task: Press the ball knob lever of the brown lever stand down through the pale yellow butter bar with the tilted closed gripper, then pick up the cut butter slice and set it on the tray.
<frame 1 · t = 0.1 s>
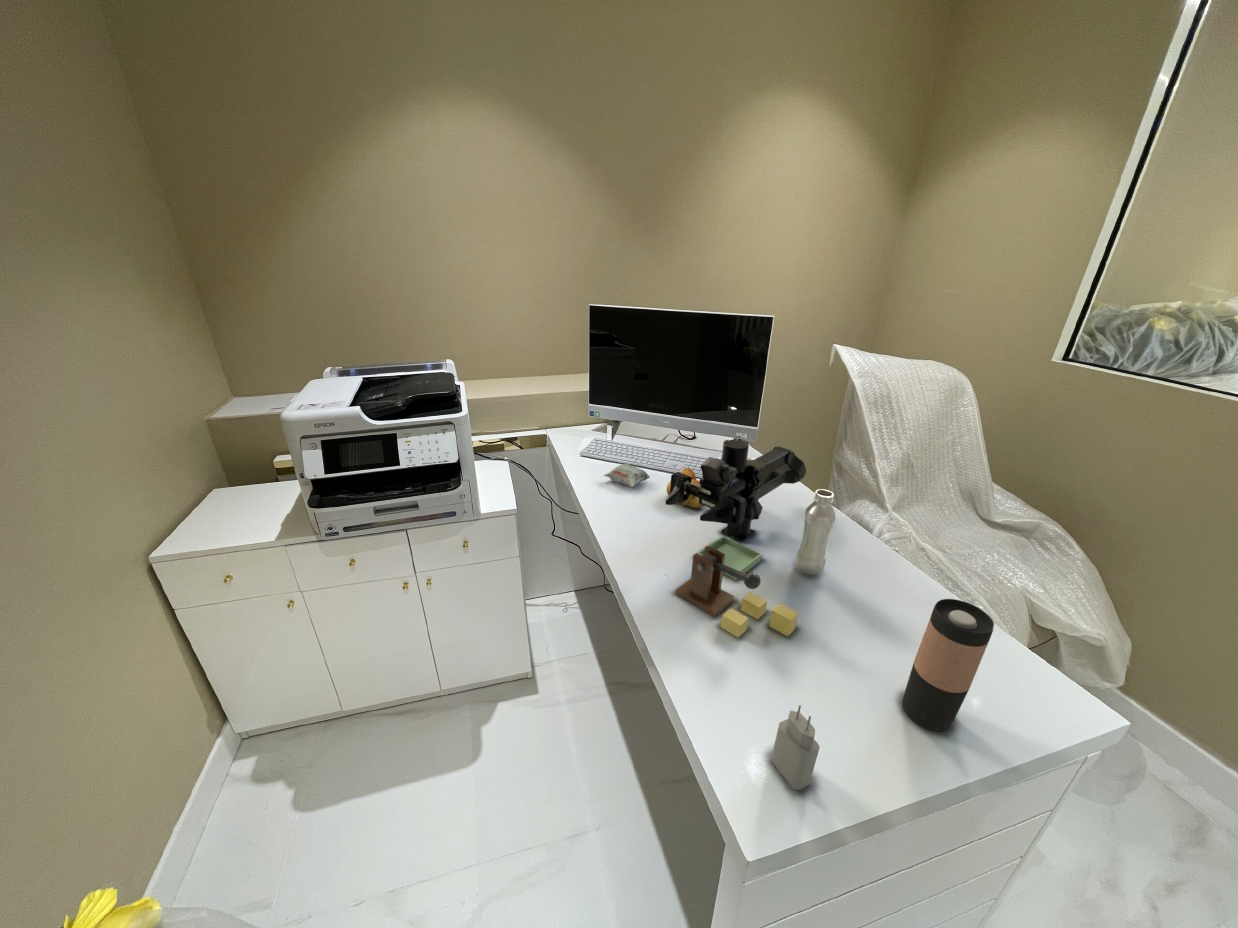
hand: (682, 510, 106), 17 cm above the table, tool horizontal, fingers open, 9 cm apart
plastic bottle: (807, 570, 116), on the table
packaged food: (626, 483, 155), on the table
brown lever stand: (704, 597, 106), on the table
butter 2: (752, 611, 103), on the table
butter 1: (733, 628, 98), on the table
travel mug: (925, 712, 81), on the table
bread roll: (685, 501, 145), on the table
ball knob lever: (730, 571, 99), point 9 cm above the table, hinge at 5.0°
butter slice: (781, 627, 98), on the table
power adapter: (789, 771, 72), on the table
tray: (728, 559, 119), on the table
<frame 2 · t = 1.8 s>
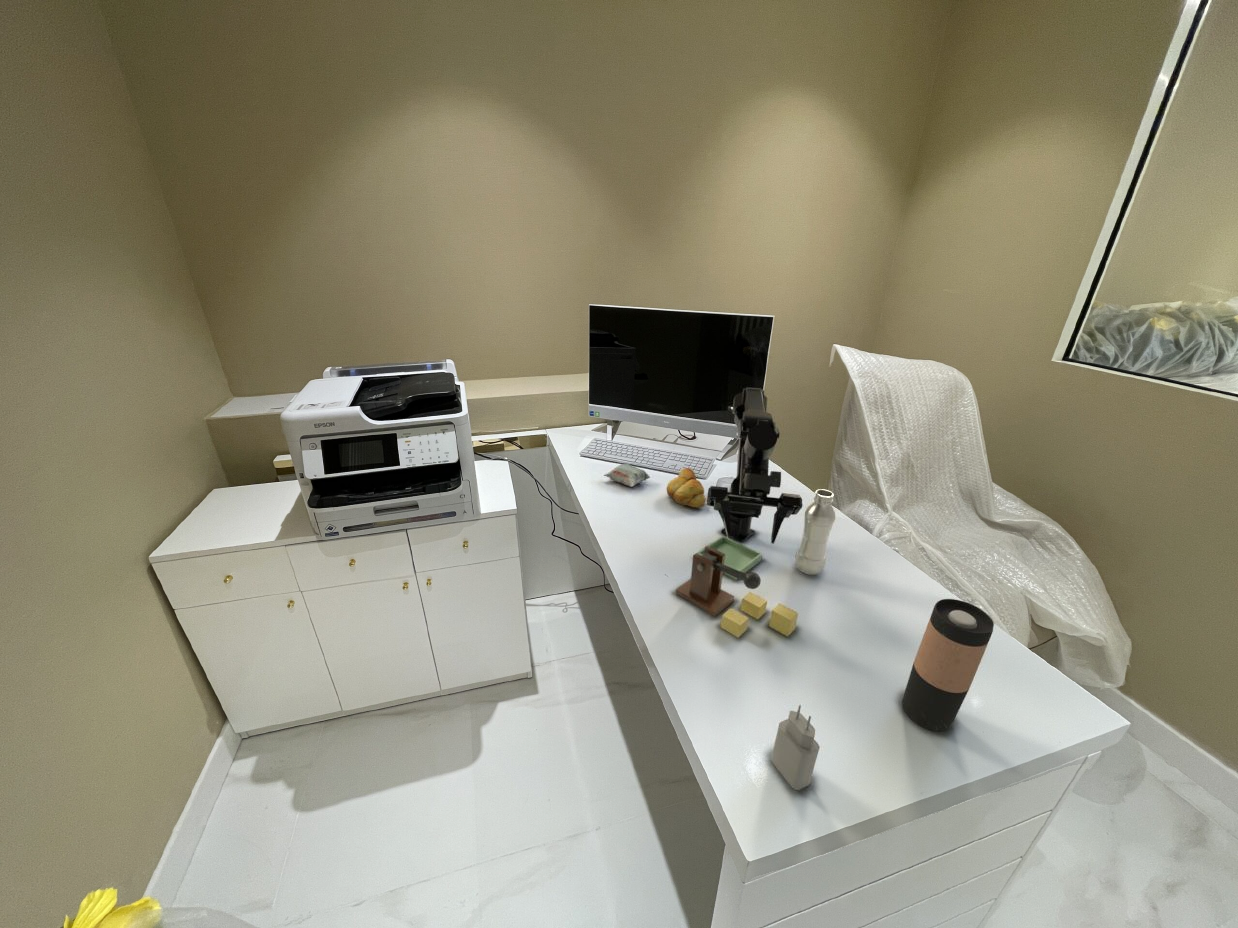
hand: (750, 540, 101), 14 cm above the table, tool tilted 45°, fingers open, 8 cm apart
nothing on the table moved.
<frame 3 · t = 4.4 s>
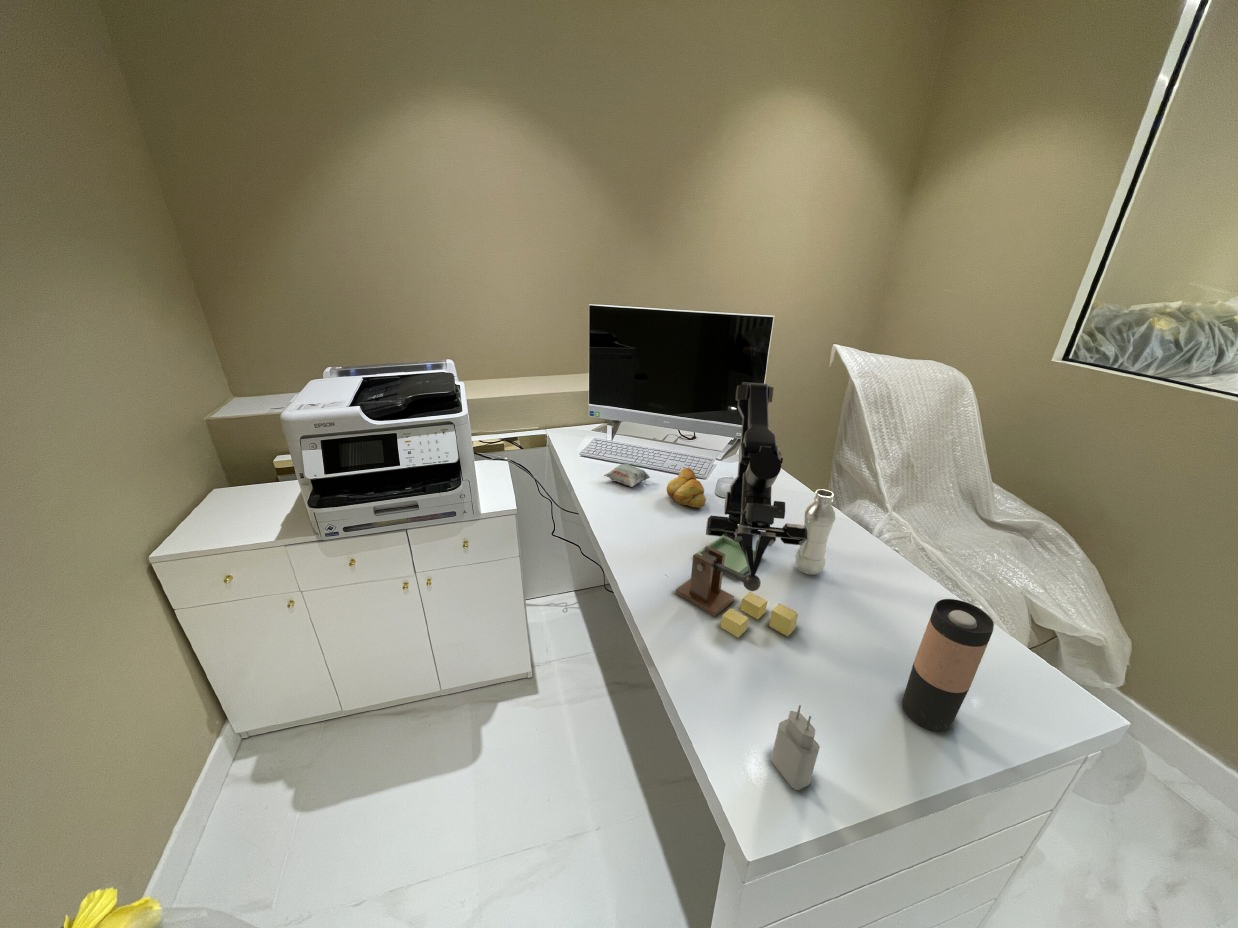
hand: (753, 574, 95), 11 cm above the table, tool tilted 45°, fingers closed
ball knob lever: (729, 572, 99), point 9 cm above the table, hinge at 2.1°
everything else where it was.
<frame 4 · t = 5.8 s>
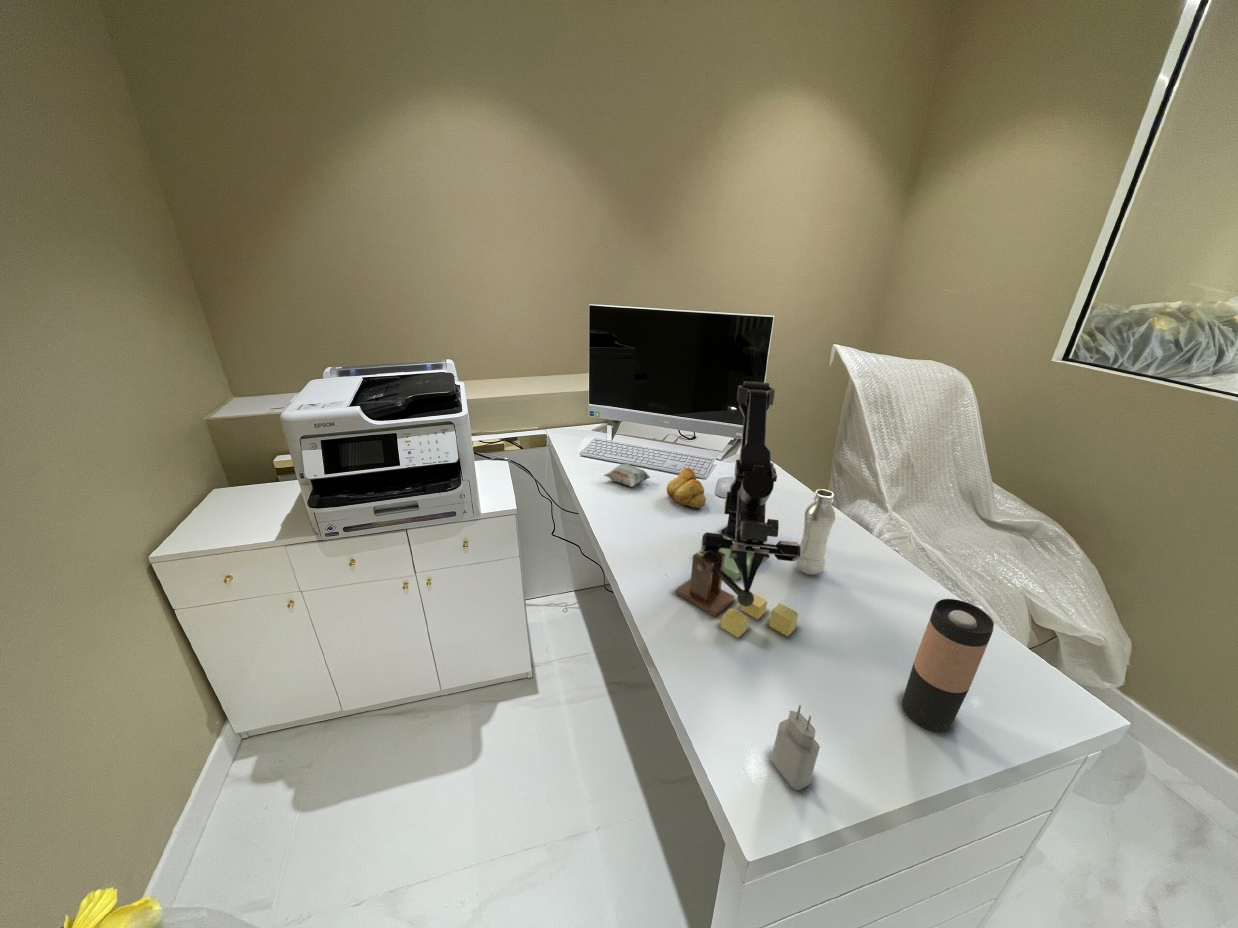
hand: (747, 590, 97), 7 cm above the table, tool tilted 45°, fingers closed, pressing on ball knob lever
ball knob lever: (727, 579, 100), point 7 cm above the table, hinge at -22.2°, touching gripper
everything else where it was.
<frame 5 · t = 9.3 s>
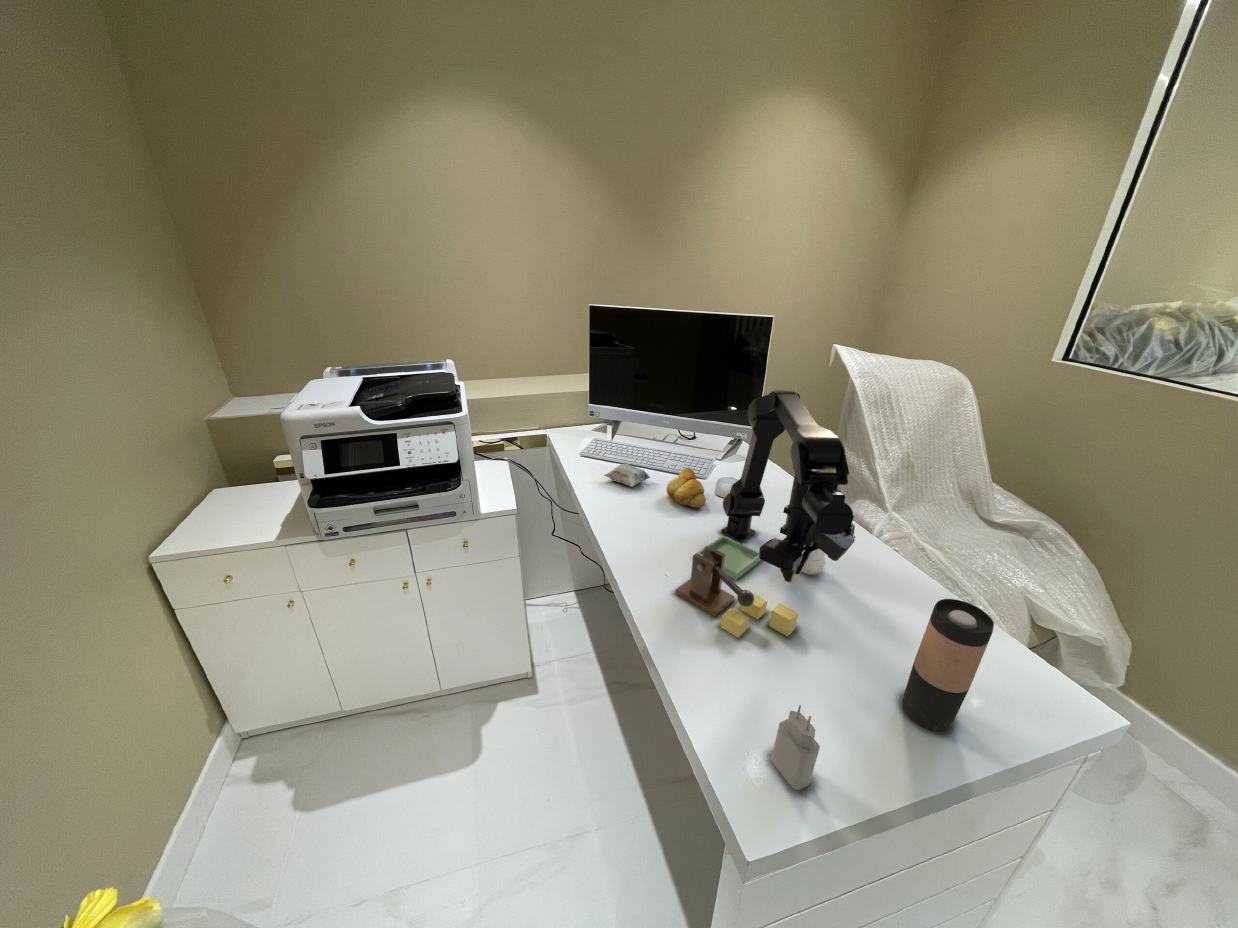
hand: (792, 577, 93), 12 cm above the table, tool pointing down, fingers open, 3 cm apart
ball knob lever: (727, 579, 100), point 7 cm above the table, hinge at -22.2°
everything else where it was.
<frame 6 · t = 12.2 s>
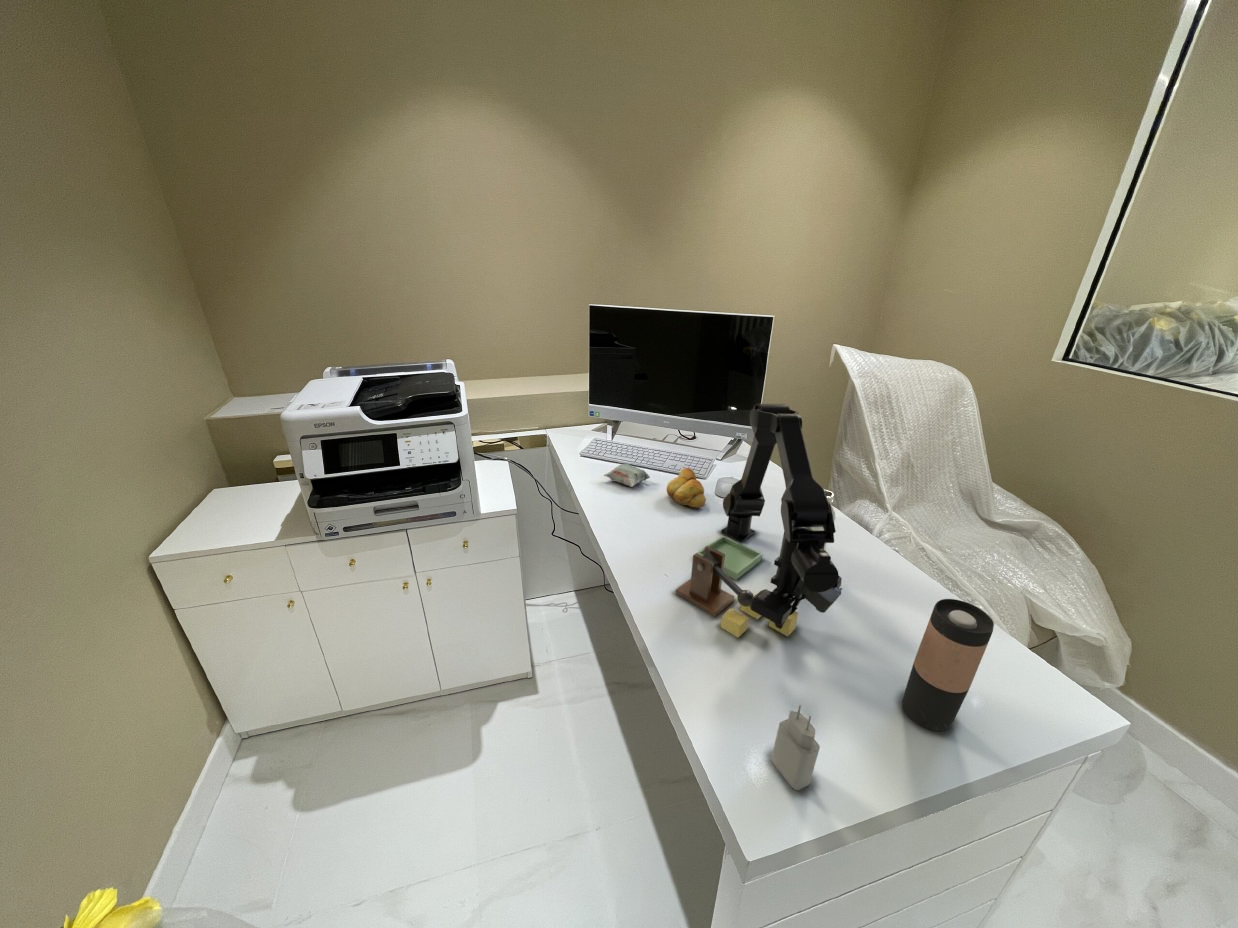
hand: (782, 623, 98), 1 cm above the table, tool pointing down, fingers closed on butter slice, 3 cm apart
butter slice: (781, 627, 98), on the table, touching gripper
everything else where it was.
when the fingers open (1 cm above the table, at t = 17.5 s): butter slice stays where it is, resting on tray.
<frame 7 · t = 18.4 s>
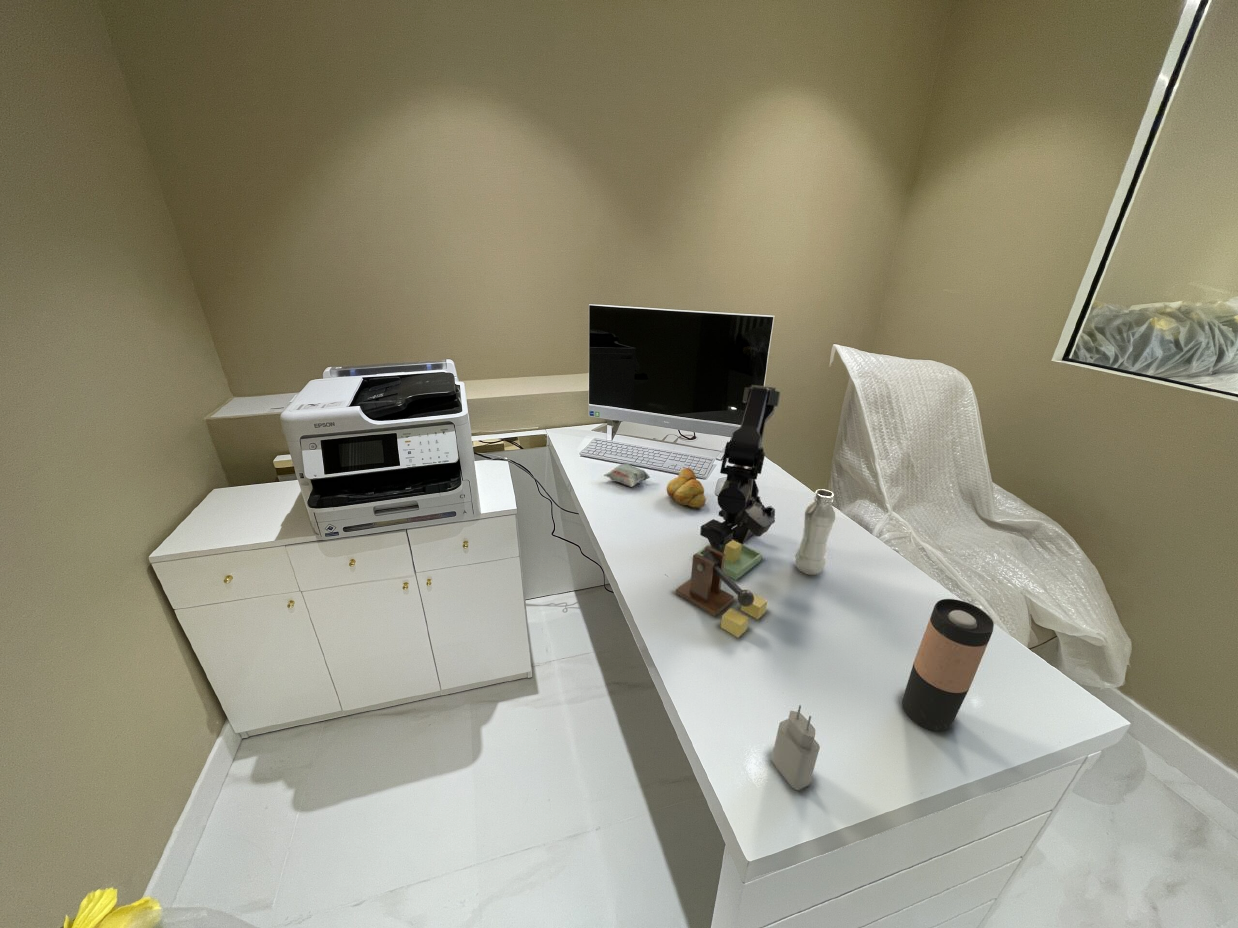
hand: (730, 551, 118), 2 cm above the table, tool pointing down, fingers open, 9 cm apart
butter slice: (729, 557, 119), point 1 cm above the table, touching tray
everything else where it was.
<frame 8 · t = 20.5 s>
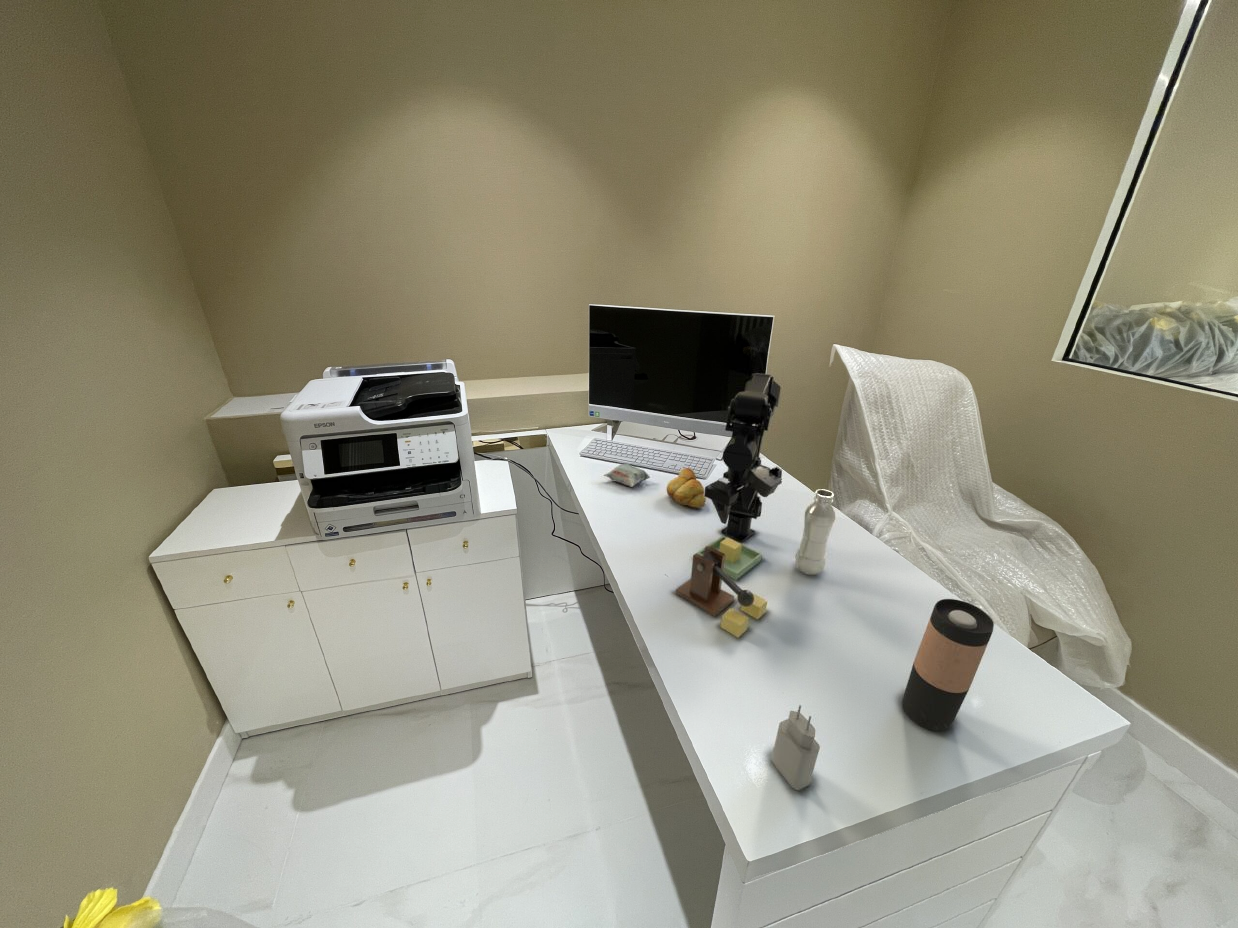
hand: (734, 515, 114), 12 cm above the table, tool pointing down, fingers open, 9 cm apart
nothing on the table moved.
at the end: ball knob lever at -22° (first picture: +5°); butter slice inside the target area in the tray (0.1 cm from its centre), point 0.6 cm above the tray's base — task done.
